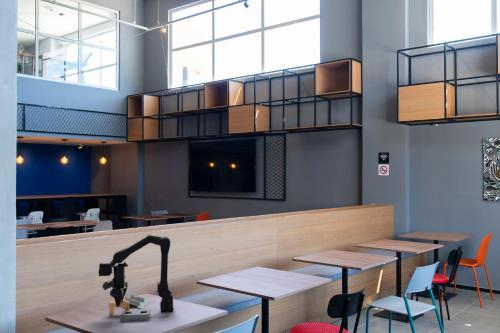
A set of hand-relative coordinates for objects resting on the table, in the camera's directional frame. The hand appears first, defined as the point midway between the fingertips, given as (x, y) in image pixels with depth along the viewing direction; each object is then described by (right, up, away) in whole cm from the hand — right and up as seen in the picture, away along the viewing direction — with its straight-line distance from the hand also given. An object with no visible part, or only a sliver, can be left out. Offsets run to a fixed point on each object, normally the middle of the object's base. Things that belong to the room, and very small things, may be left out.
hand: (119, 304), depth 254 cm
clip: (0, -5, 0) cm, 5 cm away
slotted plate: (+11, -5, -8) cm, 14 cm away
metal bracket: (+5, -6, +17) cm, 19 cm away
